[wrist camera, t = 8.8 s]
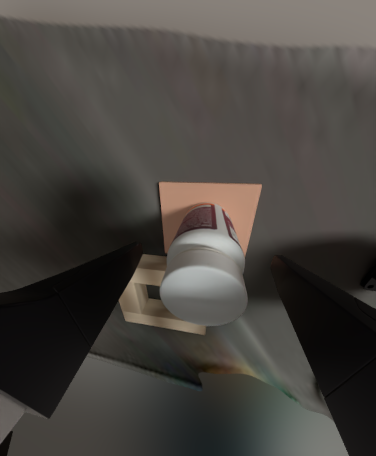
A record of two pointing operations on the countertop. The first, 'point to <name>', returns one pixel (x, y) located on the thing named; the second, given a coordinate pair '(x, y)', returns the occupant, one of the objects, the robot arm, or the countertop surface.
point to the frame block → (151, 308)
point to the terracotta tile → (212, 193)
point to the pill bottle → (205, 269)
